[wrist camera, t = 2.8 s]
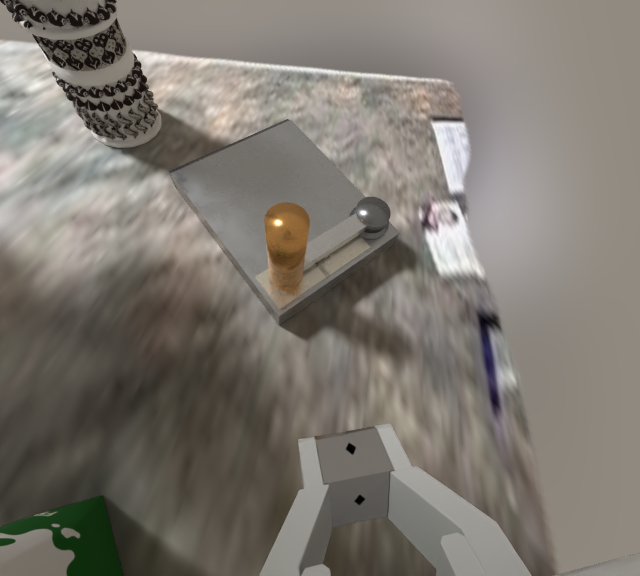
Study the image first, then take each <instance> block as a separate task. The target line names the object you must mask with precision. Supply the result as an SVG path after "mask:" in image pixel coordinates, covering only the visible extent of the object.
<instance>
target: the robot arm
mask: <svg viewBox="0 0 640 576" xmlns="http://www.w3.org/2000/svg"><path fill="white" fill-rule="evenodd" d="M298 443H299V454H300V465H301V475H302V485H303V489H301V490H299V492H298V494H297V496H296V498H295V500H294V502H293V505H292V507H291V509H290V511H289V513H288V515H287V517H286V519H285V522H284V524H283V526H282V528H281V530H280V532H279V534H278V537H277V539H276V541H275V543H274V545H273V547H272V549H271V551H270V554H269V556H268V558H267V560H266V562H265V564H264V566H263V569H262V571H261V573H260V575H259V576H331V574H330V569H329V568H328V567H326V566H325V565H323V561H324V557H325V554H326V550H327V547H328V543H329V540H330V536H331V533H332V528H336V527H340V526H344V525H348V524H352V523H356V522H360V521H366V520H371V519H376V518H382V517H387V516H388V519H389V520H390V521H391V522H392V523H393V524H394V525H395V526H396V527H397V528H398V529H399V530H400V531H401V532H402V533H403V534H404V535H405V537H406V538H407V539H408V540H409V541H410V542H411V543H412V544H413V545H414V546H415V547H416V548H417V549H418V550H419V551H420V552H421V554H422V555H423V556H424V557H425V558H426V559H427V560H428V561H429V562H430V563H431V564H432V565H433V566H434V567H435V568H436V576H532V575H531V574H530V572H529V571H528V569H527V568H526V566H525V565H524V563H523V562H522V560H521V559H520V557H519V556H518V554H517V553H516V551H515V550H514V548H513V547H512V545H511V544H510V542H509V541H508V539H507V538H506V536H505V535H504V533H503V532H502V530H501V529H500V527H499V526H498V524H497V523H496V522H495V521H494V520H492V519H491V518H490V517H488V516H487V515H485V514H484V513H483V512H481V511H480V510H478V509H477V508H476V507H474V506H473V505H471V504H470V503H468V502H467V501H466V500H464V499H463V498H461V497H460V496H459V495H457V494H456V493H454V492H453V491H452V490H450V489H449V488H447V487H446V486H444V485H443V484H442V483H440V482H439V481H437V480H436V479H435V478H433V477H432V476H430V475H429V474H428V473H426V472H425V471H423V470H422V469H421V468H419V467H413V466H412V464H411V462H410V460H409V458H408V456H407V454H406V453H405V451H404V449H403V447H402V445H401V443H400V441H399V439H398V437H397V435H396V433H395V431H394V429H393V427H392V426H391V425H390V424H384V425H379V426H374V427H373V426H372V427H367V428H362V429H356V430H351V431H346V432H342V433H335V434H328V435H321V436H315V437H310V438H303V439H298ZM554 576H640V553H637V554H633V555H629V556H626V557H621V558H618V559H614V560H611V561H607V562H603V563H599V564H596V565H592V566H588V567H584V568H581V569H577V570H573V571H570V572H566V573H562V574H558V575H554Z"/></svg>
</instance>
